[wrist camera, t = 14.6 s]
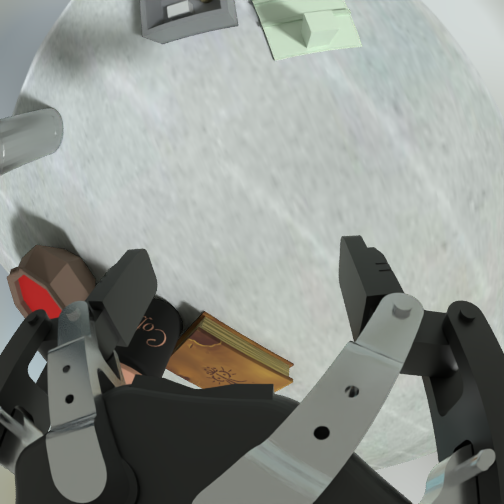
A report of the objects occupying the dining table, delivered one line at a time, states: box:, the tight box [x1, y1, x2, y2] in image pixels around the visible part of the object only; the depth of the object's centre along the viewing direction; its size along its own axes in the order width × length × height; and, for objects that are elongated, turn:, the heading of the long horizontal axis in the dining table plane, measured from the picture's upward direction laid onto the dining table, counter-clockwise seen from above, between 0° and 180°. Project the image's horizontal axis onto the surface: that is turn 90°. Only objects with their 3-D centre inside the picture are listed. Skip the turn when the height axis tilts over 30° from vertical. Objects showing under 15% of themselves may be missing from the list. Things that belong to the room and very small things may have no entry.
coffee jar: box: [114, 299, 183, 384], centre depth 46 cm, size 11×11×18 cm
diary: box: [166, 311, 294, 392], centre depth 56 cm, size 23×19×6 cm
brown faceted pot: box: [7, 245, 95, 319], centre depth 46 cm, size 24×24×16 cm
